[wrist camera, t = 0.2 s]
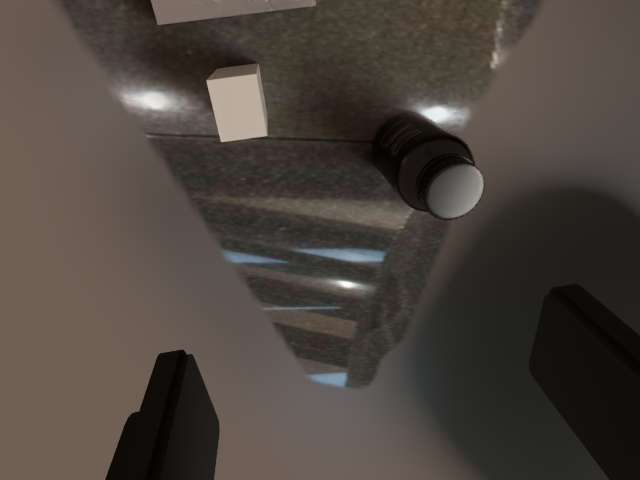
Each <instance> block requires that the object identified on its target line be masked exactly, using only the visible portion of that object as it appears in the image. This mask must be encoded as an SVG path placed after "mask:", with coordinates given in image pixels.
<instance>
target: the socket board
mask: <svg viewBox="0 0 640 480" xmlns="http://www.w3.org/2000/svg"><path fill="white" fill-rule="evenodd" d="M151 3H152V6H153V10H154V13H155V17H156V20H157V24H158V25H162V24H171V23H179V22H187V21H195V20H204V19H212V18H220V17H228V16H236V15H244V14H253V13H261V12H269V11H277V10H285V9H294V8H302V7H310V6H316V0H151Z"/></svg>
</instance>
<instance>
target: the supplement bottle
mask: <svg viewBox="0 0 640 480" xmlns="http://www.w3.org/2000/svg"><path fill="white" fill-rule="evenodd" d="M373 157H374V161H375V163H376V165H377V167H378V169H379V170H380V171H381V173H382V174H383V175H384V177H385V178H386V179H387V181H388V182H389V183H390V185H391V186H392V187H393V189H394V190H395V191H396V193H397V194H398V195H399V197H400V198H401V199H402V200H403V201H404V202H405V203H406V204H407V205H408V206H410V207H411V208H413V209H416V210H419V211H424V212H429V213H430V214H431V215H433V216H434V217H435V218H439V219H443V220H453V219H457V218H459V217H462V216H464V215H465V214H468V213H469V212H470V211H471V210H473V208H474V207H475V206H477V204H478V202H479V201H480V199H481V197H482V195H483V191H484V185H485V183H484V178H483V176H482V173H481V172H480V171H479V168H477V167H476V166H475V160H474V156H473V153H472V151H471V149H470V147H469V146H468V145H467V144H466V143H465V142H464V141H463V140H462V139H460V138H459V137H457V136H456V135H454V134H453V133H451V132H449V131H448V130H446V129H445V128H443V127H442V126H440V125H438V124H437V123H435V122H434V121H432V120H431V119H429V118H427V117H425V116H423V115H421V114H418V113H403V114H399V115H397V116H394V117H393V118H391V119H390V120H388V121H387V122H386V123H385V124H384V125H383V126H382V127H381V128H380V130H379V131H378V133H377V135H376V137H375V140H374V144H373Z"/></svg>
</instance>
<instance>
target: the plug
mask: <svg viewBox="0 0 640 480" xmlns="http://www.w3.org/2000/svg"><path fill="white" fill-rule="evenodd" d="M206 81H207V86H208V90H209V94H210V98H211V102H212V106H213V110H214V115H215V119H216V123H217V127H218V131H219V135H220V139H221V142H226V141H233V140H240V139H248V138H255V137H262V136H267V111H266V105H265V99H264V94H263V88H262V82H261V76H260V70H259V65H258V63H256V64H249V65H241V66H233V67H225V68H218V69H216V70H215V71H214V73H213V74H212V75H211V76H210V77H209V78H208V79H207V80H206Z"/></svg>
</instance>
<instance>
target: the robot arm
mask: <svg viewBox="0 0 640 480" xmlns="http://www.w3.org/2000/svg"><path fill="white" fill-rule="evenodd" d="M529 369H530V372H531V375H532V376H533V378H534V379H535V381H536V382H537V383H538V385H539V386H540V387H541V389H542V390H543V391H544V393H545V394H546V395H547V397H548V398H549V399H550V401H551V402H552V403H553V405H554V406H555V407H556V409H557V410H558V411H559V413H560V414H561V415H562V417H563V418H564V419H565V421H566V422H567V423H568V425H569V426H570V428H572V430H573V431H574V433H575V434H576V436H577V437H578V438H579V440H580V441H581V442H582V443H583V445H584V446H585V448H586V449H587V450H588V451H589V453H590V454H591V456H592V457H593V458H594V460H595V461H596V462H597V464H598V465H599V466H600V468H601V469H602V470H603V472H604V473H605V474H606V476H607V477H608V478H609V480H640V336H639V335H638V334H637V333H636V332H635V331H634V330H632V329H631V328H630V327H629V326H628V325H626V324H625V323H624V322H623V321H622V320H620V319H619V318H618V317H617V316H616V315H615V314H613V313H612V312H611V311H610V310H608V309H607V308H606V307H605V306H604V305H603V304H602V303H600V302H599V301H598V300H597V299H596V298H594V297H593V296H592V295H591V294H590V293H588V292H587V291H586V290H585V289H584V288H582V287H581V286H579V285H577V284H571V285H565V286H559V287H554V288H552V289H551V290H550V292H549V294H547V295H546V296H545V298H544V301H543V306H542V310H541V314H540V318H539V323H538V327H537V332H536V335H535V340H534V344H533V348H532V353H531V357H530V361H529ZM218 440H219V420H218V417H217V415H216V412H215V409H214V407H213V404H212V402H211V400H210V397H209V394H208V392H207V389H206V387H205V384H204V381H203V379H202V376H201V374H200V371H199V369H198V366H197V364H196V361H195V359H194V356H193V355H192V354H189V355H187V354H186V352H185V351H184V350H177V351H172V352H166V353H160V354H159V355H158V357H157V359H156V362H155V365H154V368H153V371H152V374H151V377H150V381H149V384H148V387H147V390H146V393H145V396H144V399H143V402H142V405H141V408H140V411H139V412H135V413H132V414H131V415H130V416H129V417H128V419H127V421H126V423H125V426H124V429H123V431H122V434H121V437H120V440H119V442H118V445H117V448H116V451H115V454H114V457H113V460H112V462H111V465H110V468H109V471H108V474H107V476H106V479H105V480H214V474H215V465H216V457H217V449H218Z"/></svg>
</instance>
